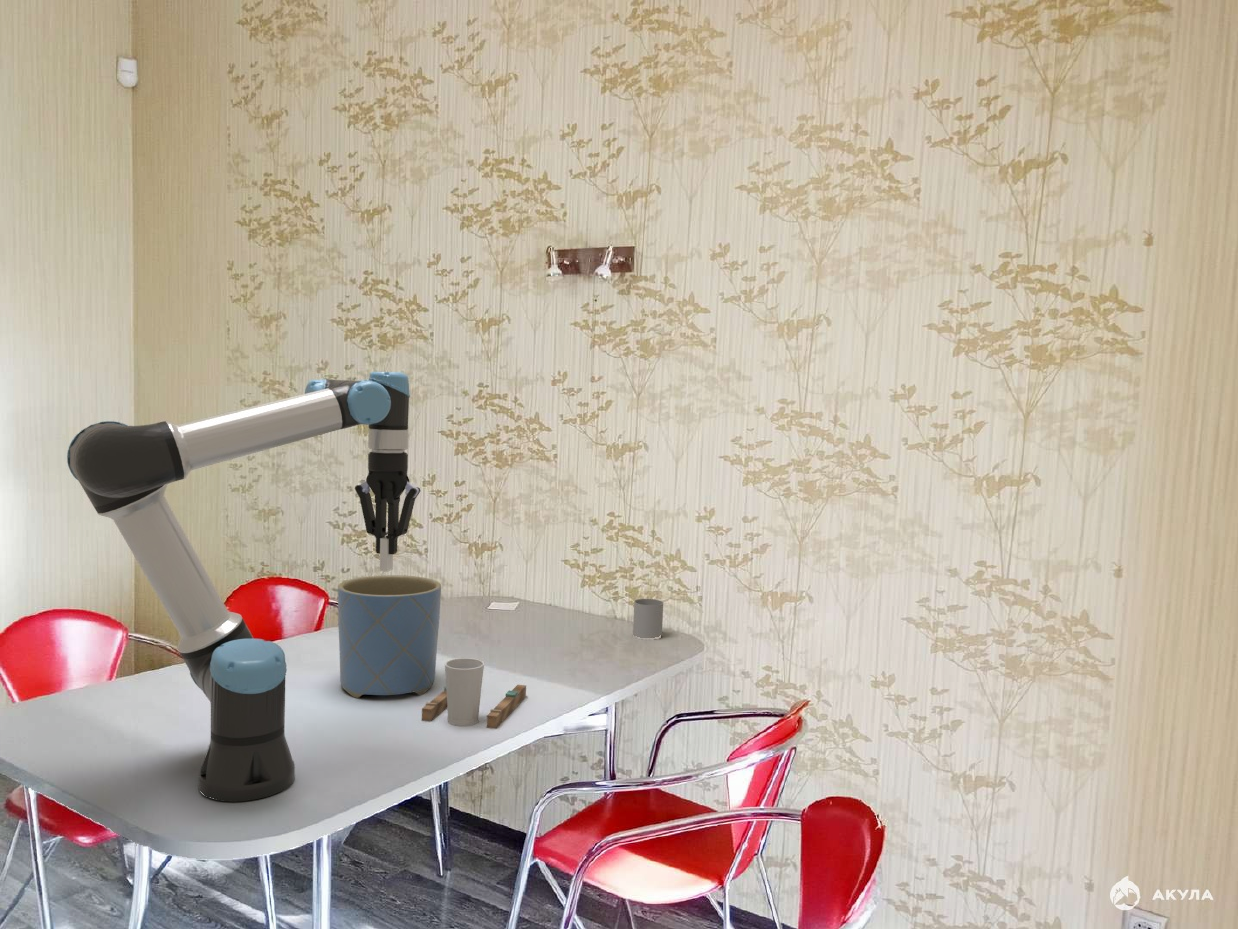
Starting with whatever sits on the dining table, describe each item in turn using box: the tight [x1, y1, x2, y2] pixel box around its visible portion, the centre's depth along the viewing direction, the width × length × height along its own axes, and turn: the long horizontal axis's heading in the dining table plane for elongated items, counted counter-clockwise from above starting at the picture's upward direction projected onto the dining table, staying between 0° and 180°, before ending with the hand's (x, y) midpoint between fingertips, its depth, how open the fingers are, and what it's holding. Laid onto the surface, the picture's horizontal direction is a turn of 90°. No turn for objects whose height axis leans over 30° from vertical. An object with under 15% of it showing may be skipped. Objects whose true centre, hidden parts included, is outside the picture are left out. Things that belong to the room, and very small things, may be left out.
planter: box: [337, 574, 442, 699], centre depth 209 cm, size 23×23×24 cm
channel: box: [421, 684, 527, 729], centre depth 197 cm, size 21×16×3 cm
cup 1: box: [444, 657, 485, 727], centre depth 189 cm, size 8×8×12 cm
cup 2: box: [632, 598, 664, 638], centre depth 262 cm, size 8×8×10 cm
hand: (386, 570), depth 181 cm, fingers closed
